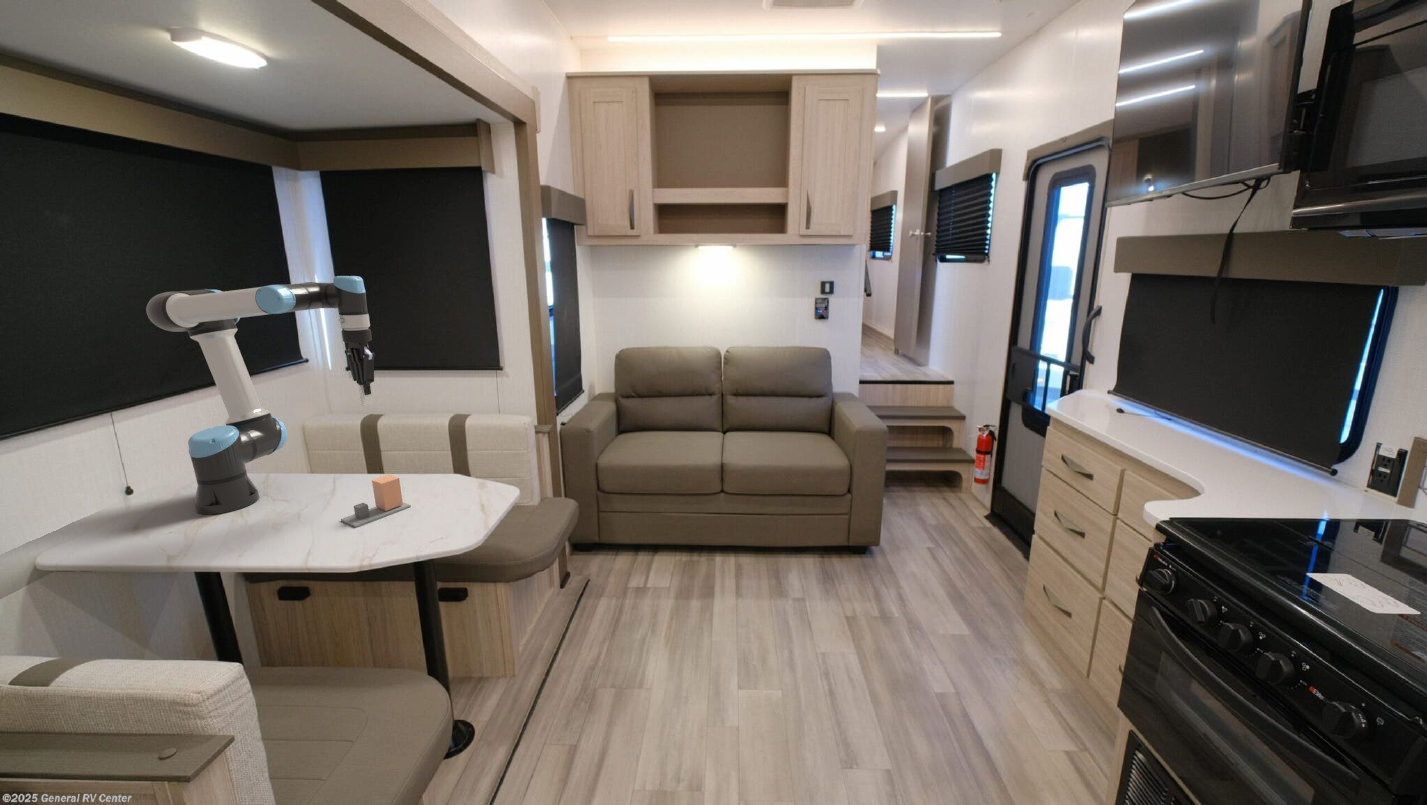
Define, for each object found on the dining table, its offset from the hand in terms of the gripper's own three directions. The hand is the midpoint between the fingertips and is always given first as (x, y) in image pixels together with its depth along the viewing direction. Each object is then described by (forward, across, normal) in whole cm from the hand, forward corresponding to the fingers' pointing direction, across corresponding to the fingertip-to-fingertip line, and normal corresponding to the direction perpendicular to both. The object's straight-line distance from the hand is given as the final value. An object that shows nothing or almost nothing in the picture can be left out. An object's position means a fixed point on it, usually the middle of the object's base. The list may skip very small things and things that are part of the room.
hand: (367, 404), depth 177 cm
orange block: (+28, +16, -6) cm, 33 cm away
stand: (+29, +16, -10) cm, 35 cm away
